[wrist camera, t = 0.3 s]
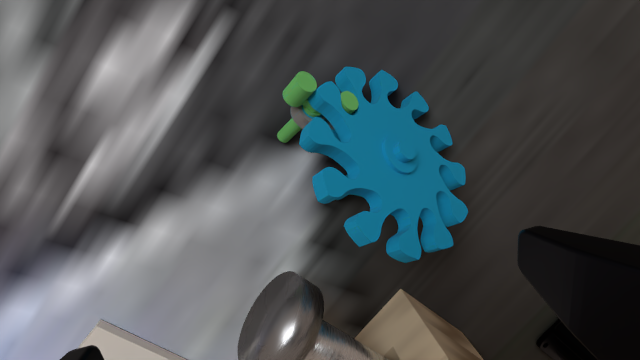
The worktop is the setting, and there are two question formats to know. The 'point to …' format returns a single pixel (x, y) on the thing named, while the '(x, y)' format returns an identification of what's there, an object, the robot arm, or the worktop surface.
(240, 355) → the shaft
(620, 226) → the worktop surface
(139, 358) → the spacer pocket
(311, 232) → the worktop surface
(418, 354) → the bearing block
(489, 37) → the worktop surface
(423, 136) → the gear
